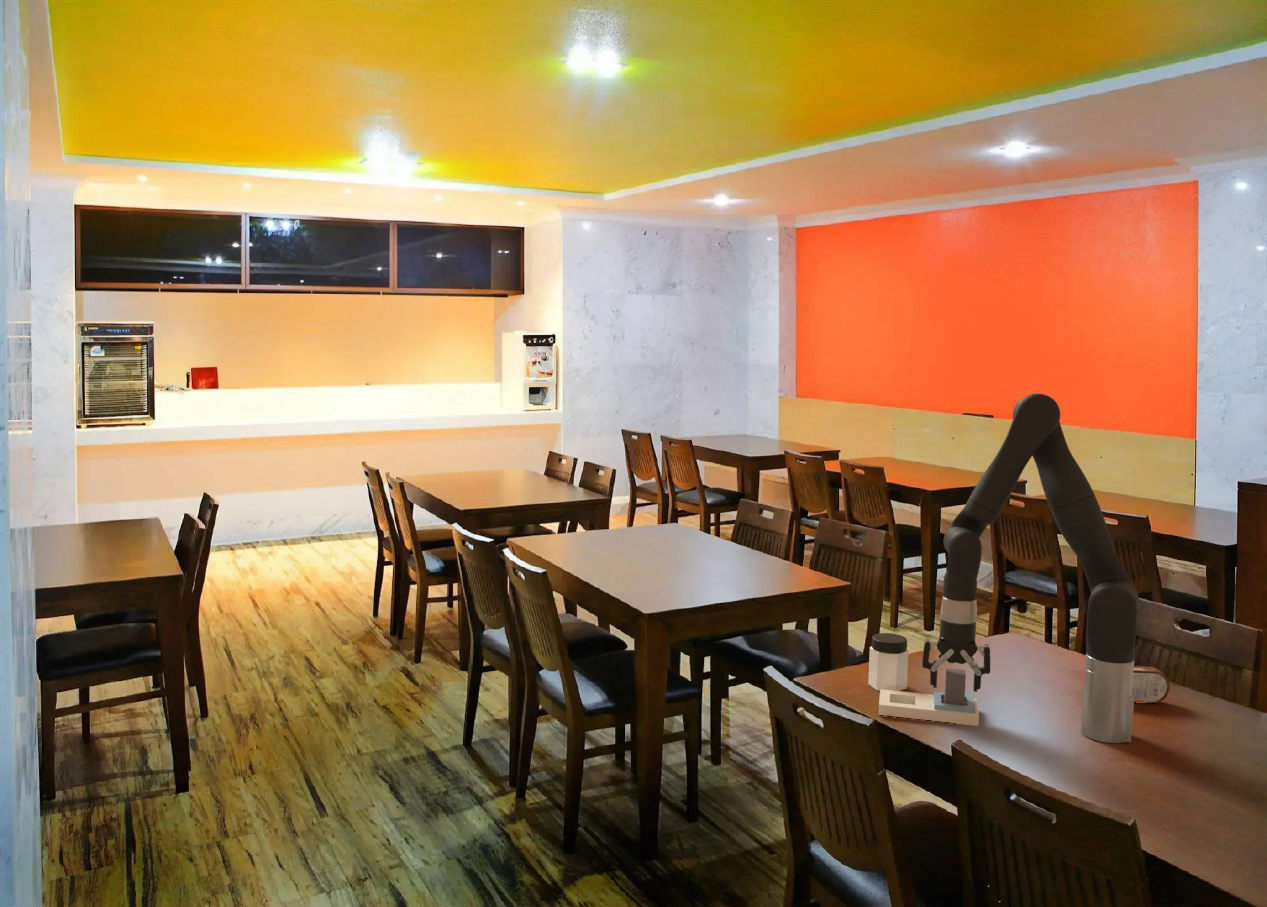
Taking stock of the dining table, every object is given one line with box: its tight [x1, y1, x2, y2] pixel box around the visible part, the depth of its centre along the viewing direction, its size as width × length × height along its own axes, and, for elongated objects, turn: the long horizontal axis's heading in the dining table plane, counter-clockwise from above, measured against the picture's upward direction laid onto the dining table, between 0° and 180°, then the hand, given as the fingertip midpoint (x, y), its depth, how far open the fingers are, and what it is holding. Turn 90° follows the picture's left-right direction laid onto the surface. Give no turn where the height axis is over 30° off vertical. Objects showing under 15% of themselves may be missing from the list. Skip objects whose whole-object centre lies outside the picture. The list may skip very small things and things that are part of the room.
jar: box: [868, 632, 909, 692], centre depth 244 cm, size 9×8×12 cm
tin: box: [1132, 665, 1171, 704], centre depth 235 cm, size 15×3×8 cm, turn 84°
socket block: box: [878, 689, 980, 727], centre depth 228 cm, size 21×10×4 cm, turn 75°
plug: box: [944, 667, 967, 705], centre depth 226 cm, size 4×4×10 cm
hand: (954, 688), depth 226 cm, fingers open, 8 cm apart
